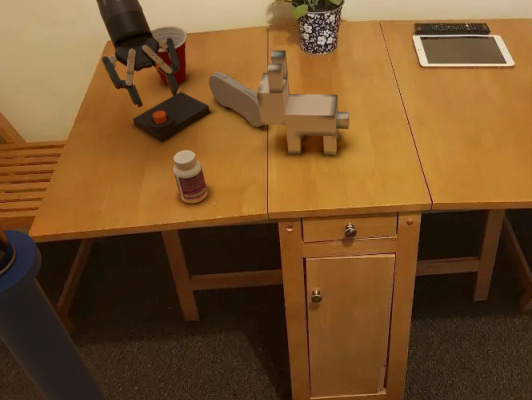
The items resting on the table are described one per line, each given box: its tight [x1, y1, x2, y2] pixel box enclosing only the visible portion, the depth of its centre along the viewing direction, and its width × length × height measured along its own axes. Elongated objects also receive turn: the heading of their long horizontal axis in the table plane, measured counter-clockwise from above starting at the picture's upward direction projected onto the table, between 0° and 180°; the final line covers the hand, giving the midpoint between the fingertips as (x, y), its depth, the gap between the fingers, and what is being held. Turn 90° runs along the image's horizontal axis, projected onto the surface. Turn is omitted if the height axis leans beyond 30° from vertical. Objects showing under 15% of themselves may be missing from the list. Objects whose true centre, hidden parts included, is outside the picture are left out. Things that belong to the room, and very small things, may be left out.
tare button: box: [153, 111, 167, 124], centre depth 127 cm, size 3×3×2 cm
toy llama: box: [256, 49, 350, 156], centre depth 118 cm, size 8×18×20 cm, turn 85°
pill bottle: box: [172, 149, 208, 204], centre depth 111 cm, size 5×5×10 cm
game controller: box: [208, 71, 263, 128], centre depth 131 cm, size 20×2×8 cm, turn 44°
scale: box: [132, 91, 211, 142], centre depth 132 cm, size 14×10×4 cm
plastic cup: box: [150, 25, 188, 86], centre depth 142 cm, size 11×11×12 cm
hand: (157, 99), depth 111 cm, fingers open, 6 cm apart
